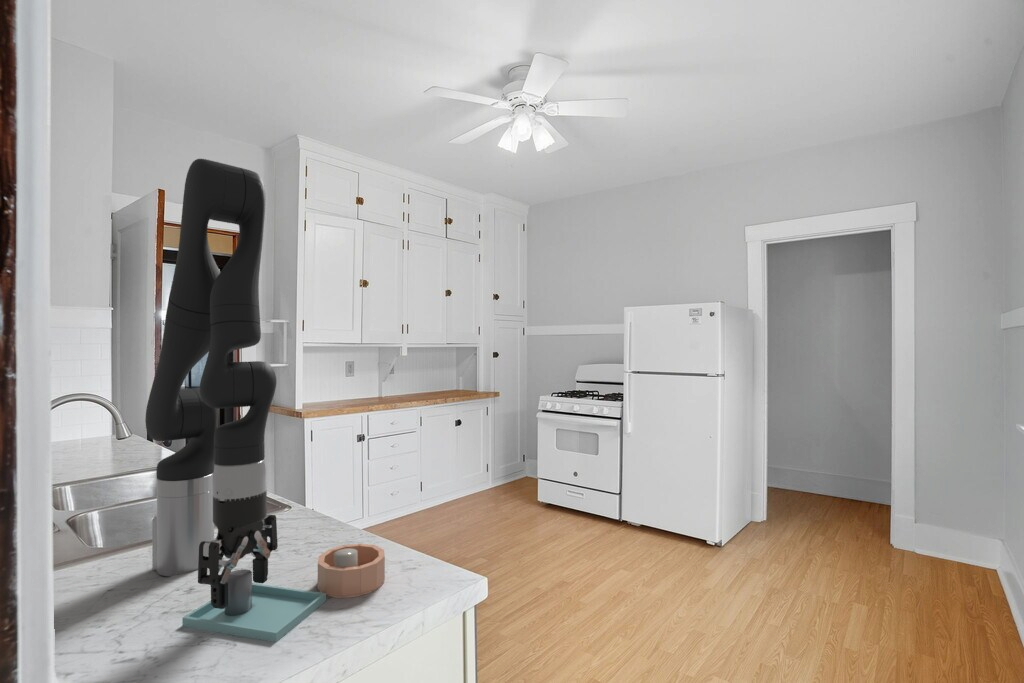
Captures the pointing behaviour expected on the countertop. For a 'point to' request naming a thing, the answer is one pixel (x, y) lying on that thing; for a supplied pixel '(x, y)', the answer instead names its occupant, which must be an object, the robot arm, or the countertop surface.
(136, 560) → the countertop surface
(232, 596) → the grey rounded cylinder
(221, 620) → the tray
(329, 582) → the bowl
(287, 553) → the countertop surface
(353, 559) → the beige rounded cylinder
